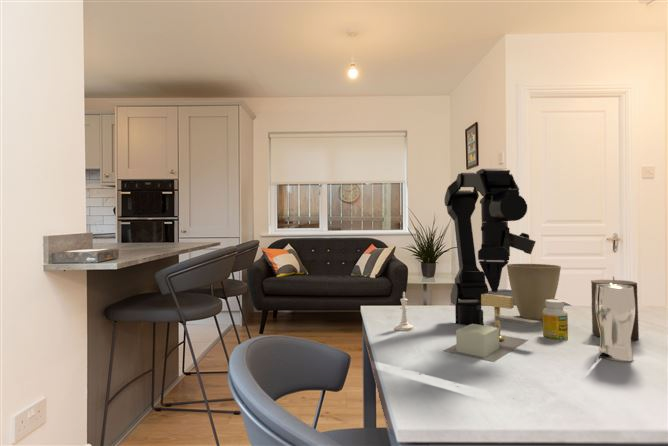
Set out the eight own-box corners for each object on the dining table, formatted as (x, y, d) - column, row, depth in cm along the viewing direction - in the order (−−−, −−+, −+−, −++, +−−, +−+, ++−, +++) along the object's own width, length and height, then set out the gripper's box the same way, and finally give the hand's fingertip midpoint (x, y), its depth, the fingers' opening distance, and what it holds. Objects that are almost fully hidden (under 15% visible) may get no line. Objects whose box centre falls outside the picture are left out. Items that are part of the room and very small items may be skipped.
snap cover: (456, 351, 87) (456, 330, 87) (472, 343, 93) (472, 323, 93) (484, 357, 83) (484, 335, 83) (499, 348, 88) (498, 327, 89)
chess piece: (414, 327, 113) (414, 291, 114) (412, 331, 109) (411, 293, 109) (397, 326, 115) (396, 290, 115) (393, 330, 110) (393, 293, 110)
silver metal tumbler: (588, 352, 89) (587, 283, 89) (618, 351, 90) (617, 283, 90) (612, 363, 82) (611, 288, 82) (644, 361, 83) (643, 287, 83)
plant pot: (572, 322, 117) (571, 267, 118) (520, 322, 118) (519, 267, 118) (545, 312, 132) (545, 262, 133) (499, 312, 133) (499, 263, 133)
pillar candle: (640, 343, 96) (639, 279, 96) (591, 337, 101) (590, 277, 101) (636, 334, 104) (635, 275, 104) (591, 329, 109) (590, 273, 110)
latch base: (442, 356, 87) (442, 350, 87) (482, 336, 103) (482, 332, 103) (493, 368, 80) (493, 361, 80) (528, 345, 95) (528, 339, 95)
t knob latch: (534, 348, 88) (533, 301, 88) (480, 337, 97) (479, 294, 97) (540, 345, 90) (539, 299, 90) (486, 334, 99) (486, 293, 99)
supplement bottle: (550, 336, 103) (549, 298, 103) (572, 341, 98) (571, 301, 99) (538, 339, 100) (537, 300, 100) (560, 344, 95) (560, 303, 96)
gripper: (534, 220, 84) (536, 297, 83) (531, 222, 101) (532, 285, 100) (477, 221, 88) (478, 294, 88) (483, 223, 105) (484, 283, 105)
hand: (495, 289), depth 95 cm, fingers open, 9 cm apart
